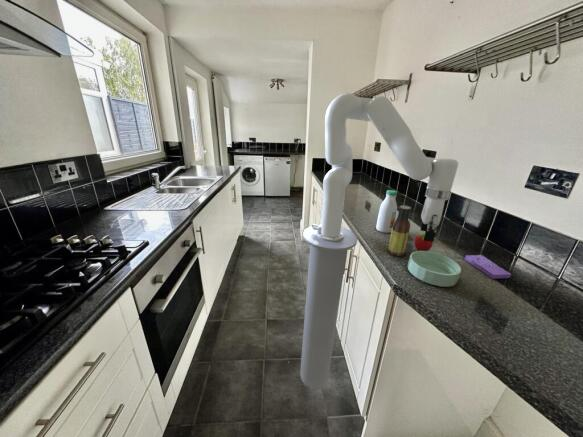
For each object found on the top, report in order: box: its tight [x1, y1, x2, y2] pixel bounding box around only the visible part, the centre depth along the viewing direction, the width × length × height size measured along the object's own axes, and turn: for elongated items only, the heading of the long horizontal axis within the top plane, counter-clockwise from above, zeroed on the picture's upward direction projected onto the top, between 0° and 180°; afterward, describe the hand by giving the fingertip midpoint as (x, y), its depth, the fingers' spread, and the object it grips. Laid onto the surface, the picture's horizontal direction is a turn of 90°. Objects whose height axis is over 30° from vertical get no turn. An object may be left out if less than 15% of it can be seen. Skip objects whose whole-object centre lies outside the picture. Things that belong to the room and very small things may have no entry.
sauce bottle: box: [388, 205, 412, 257], centre depth 90 cm, size 7×6×20 cm
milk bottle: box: [375, 189, 398, 234], centre depth 111 cm, size 8×8×20 cm
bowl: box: [407, 250, 462, 288], centre depth 80 cm, size 15×15×5 cm
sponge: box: [464, 254, 512, 279], centre depth 86 cm, size 7×13×2 cm, turn 5°
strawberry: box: [413, 233, 433, 251], centre depth 92 cm, size 6×8×10 cm
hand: (426, 235), depth 91 cm, fingers open, 9 cm apart
